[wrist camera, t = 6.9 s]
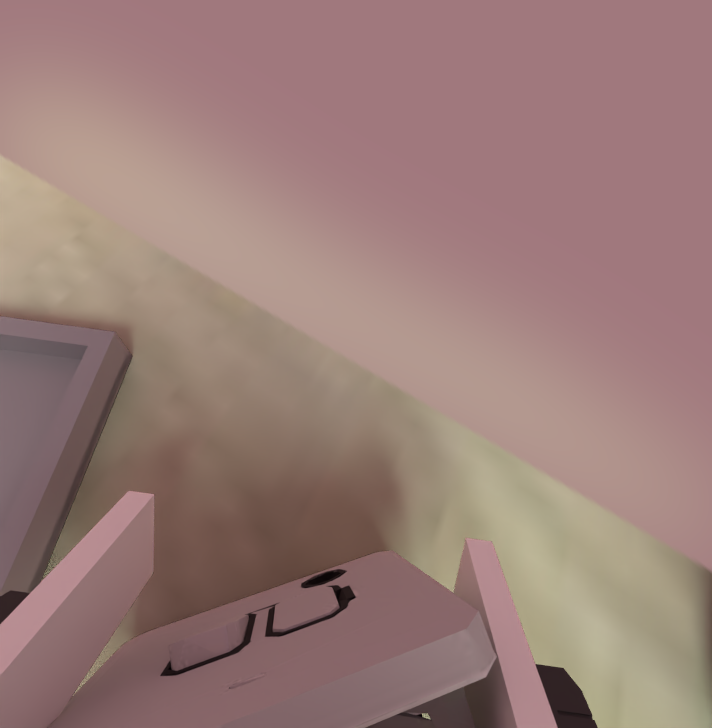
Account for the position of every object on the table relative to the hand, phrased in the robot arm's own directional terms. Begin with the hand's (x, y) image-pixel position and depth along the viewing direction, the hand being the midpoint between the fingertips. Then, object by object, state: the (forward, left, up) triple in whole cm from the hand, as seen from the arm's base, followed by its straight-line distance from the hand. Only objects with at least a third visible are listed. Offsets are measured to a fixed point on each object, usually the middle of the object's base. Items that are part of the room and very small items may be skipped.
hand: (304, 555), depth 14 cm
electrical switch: (0, +3, -4) cm, 5 cm away
